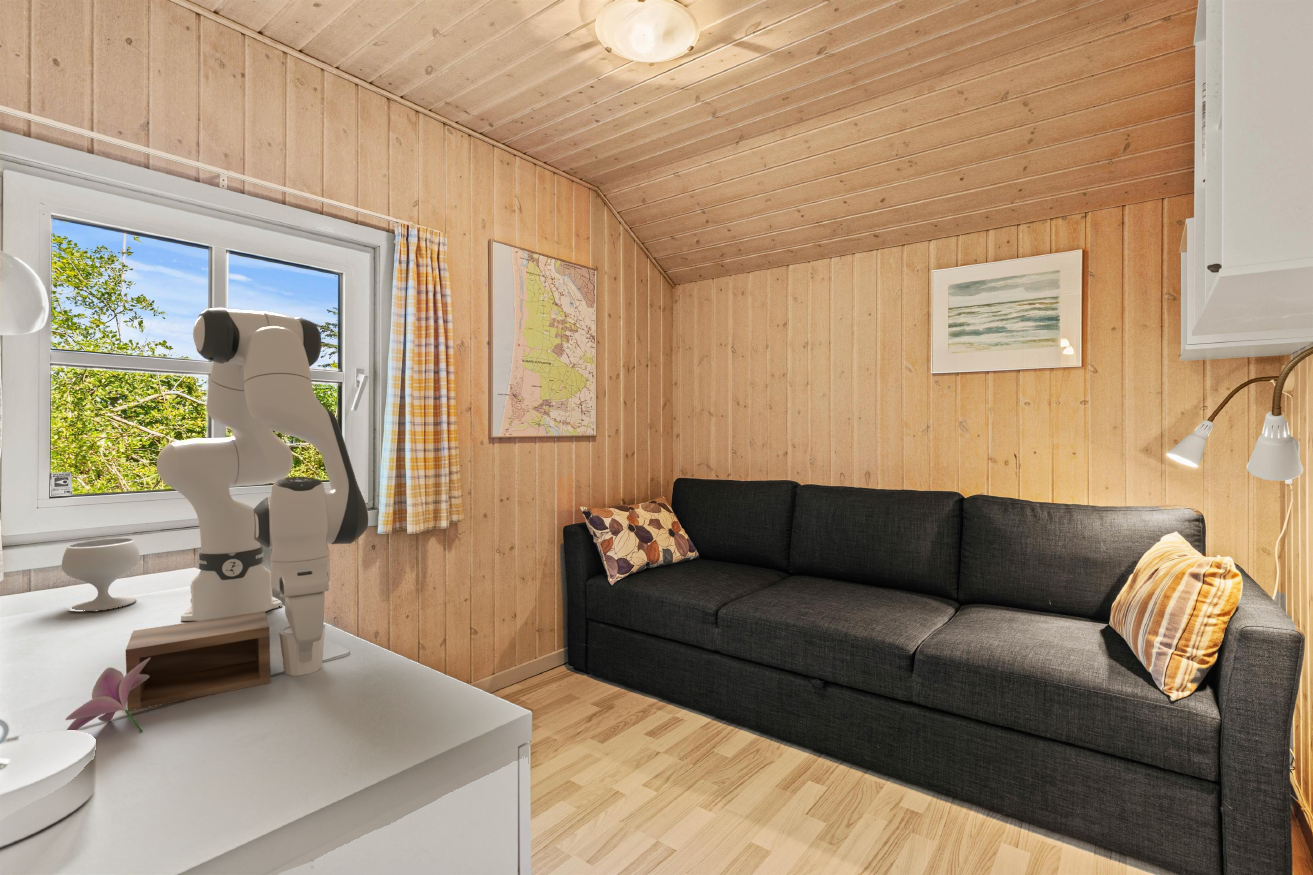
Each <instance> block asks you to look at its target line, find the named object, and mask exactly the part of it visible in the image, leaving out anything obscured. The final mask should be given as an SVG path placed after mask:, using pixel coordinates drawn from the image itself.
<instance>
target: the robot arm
mask: <svg viewBox="0 0 1313 875" xmlns="http://www.w3.org/2000/svg"><path fill="white" fill-rule="evenodd" d="M193 326H194V327H193V332H192V337H193V342H194V344H195V347H196V352H197V353H198V354H199V355H200V356H201V357H203V359H205V360H208V361H211V362H213V363H212V366H211V372H210V378H209V383H208V384H209V385H208V390H207V399H206V407H205V408H206V411H207V414H208V416H209V418H211V419H212V421H214V422H215V423H217V424H218V425H220V426H223V427H226V428H227V429H230V430H233V431H232V435H231V436H228V437H203V438H201V437H200V438H199V437H198V438H190V439H184V440H178V441H174V442H168V443H167V444H166V445H165V446H164V447H163V448H162V450H161V451H160V452H159V454H158V456H157V459H156V469H157V470H156V471H157V473H158V475H159V478H160V479H161V481H162V482H163V483H164V484H165V485H166V486H167V487H169V488H171V489H173V490H175V491H177V492H178V493H179V494H181V495H182V496H183V497H184V498H185V499H186V500H187V501H188V502H189V503H190V505H191V506H192V508H193V509H194V511H195V513H196V516H197V519H198V526H199V533H200V534H199V535H200V549H201V550H200V552H199V554H198V561H197V562H198V569H199V570H200V571H199V573H198V574H197V575H196V576H195V577H194V578H193V579H192V580H191V584H190V586H189V587H190V594H191V598H190V604H191V606H190V607H189V608H188V609H187V610H186V611H184V612H183V613H182V614H181V616H180V621H185V622H186V621H187V622H188V621H189V622H196V621H203V620H209V619H216V618H223V617H230V616H236V615H243V614H250V613H257V612H263V611H265V613H266V612H267V611H270V610H273V609H277V608H280V607H282V606H283V602H282V601H281V600H280V599H279V598H276V597H275V596H273V590H277V591H278V592H279V597H280V598H281V599H282V598H283V599H284V611H285V612H284V614H285V617H286V619H287V621H288V622H287V623H288V625H289V626H290V628H291V630H292V633H293V635H294V638H295V640H296V643H297V644H298V645H299V660H300V662H301V663H304V662H309V661H311V660H312V646H313V642H316V641H319V640H320V639H321V637H322V633H323V624H324V620H325V608H326V592H329V591H330V590H329V589H330V582H331V561H330V560H331V556H330V554H331V552H330V549H329V545H350V544H351V545H352V544H353V543H354V542H356V541H357V540H358V539H359V538H361V537H362V536H363V534H364V533H365V532H366V530H368V527H369V510H368V507H367V504H366V501H365V499H364V496H363V495H362V491H361V489H360V487H359V484H358V481H357V479H356V474H355V472H354V469H353V465H352V462H351V459H350V456H349V455H350V454H349V452H348V448H347V445H346V442H345V439H344V436H343V433H342V429H341V428H340V425H339V423H338V419H337V418H336V416H335V414H334V413H333V411H332V410H331V409H328V408H326V407H325V406H323V405H322V403H321V402H320V401H319V399H318V398H317V396H316V394H315V392H314V388H313V382H312V374H311V368H310V367H312V366H313V365H314V364H315V363H317V361H318V360H319V358H320V355H321V350H322V344H323V343H322V336H321V331H320V329H319V328H318V326H317V324H316V323H314V322H313V321H311V320H308V319H306V318H302V317H299V316H297V317H292V316H289V315H284V314H279V313H275V312H268V311H254V310H242V309H241V310H240V309H227V308H226V307H214V308H213V307H212V308H206V309H205V310H203V311H201V313H200V314H199V315H198V316H197V319H196V322H195V324H194V325H193ZM274 432H276V433H279V434H283V435H286V436H291V437H293V438H296V439H299V440H302V441H304V442H307V443H308V444H310V445H311V446H313V447H314V448H316V449H317V451H318V452H319V453H320V455H321V458H322V462H323V464H324V469H325V472H326V474H327V479H328V482H329V485H330V489H331V490H328V491H326V490H325V485H324V483H323V481H322V480H321V479H317V478H316V477H307V476H291V477H288V475H289V474H290V472H291V470H292V468H293V465H294V457H293V452H292V450H291V448H290V446H289V445H288V444H287V442H285V441H284V440H283V439H281V438H280V437H279V436H277V435H276V434H275V433H274ZM270 483H273V484H272V487H271V494H270V496H266V497H265V498H263V500H261V501H260V502H259V503H258V504H257V505H256V506H255V507H252V506H250V505H248V504H245V503H242V502H240V501H237V500H234V499H233V497H232V495H231V492H230V488H235V487H248V486H249V487H250V486H260V485H261V486H263V485H266V484H267V485H268V484H270ZM261 545H262V546H261ZM263 546H264V547H266V548H267V549H271V550H272V551H271V554H270V557H269V558H270V559H269V560H270V570H269V569H268V568H266V567H265V566H264V564H263V562H264V555H265V554H264V551H263ZM279 606H280V607H279ZM324 625H325V624H324Z"/></svg>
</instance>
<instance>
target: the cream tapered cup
mask: <svg viewBox="0 0 1313 875" xmlns="http://www.w3.org/2000/svg"><path fill="white" fill-rule="evenodd" d="M325 630H326V625H325V624H323V633H322V637H321V639H320V640H319V641H316V642H313V646H312V660H311V661H309V662H304V663H301V662H300V660H299V645H298V644H297V643H296V640H295V638H294V635H293V633H292V630H291V628H290V625H289V626H286V627H284V628H282V629H281V630H279V632H278V635H279V636H278V637H279V643H280V649H281V657H282V665H283V672H284V674H285V675H286V676H292V677H293V676H303V675H308V674H312V673H315V672H317V671H319V670H321V669H322V667H323V658H324V657H323V656H324V645H325V642H324V641H325Z"/></svg>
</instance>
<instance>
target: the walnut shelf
mask: <svg viewBox="0 0 1313 875" xmlns="http://www.w3.org/2000/svg"><path fill="white" fill-rule="evenodd" d="M268 621H269V620H268V617H267V614H266V612H265V611H263V612H257V613H250V614H243V615H236V616H230V617H223V618H216V619H209V620H203V621H189V622H183V623H177V624H176V623H175V624H170V625H163V626H157V627H156V626H155V627H151V628H149V627H148V628H143V629H136V630H135V629H134V630H133V631H132V633H131V636H130V638H129V641H128V643H127V646H126V649H125V667H126V668H125V670H126V672H125V676H126V675H127V674H128V673H129V672H130V671H131V670H132V669H134V668H135V667H136V666H138V665H139V664H140V663H142V662H143V661H145V660H146V659H148V658H150V660H149V661H148V662H147V663H146V665H145V666H144V667H143V669H142V670H141V671H140V673H139V674H145V675H149V678H148V679H147V680H145V681H144V682H142V683H141V684H139V685H138V686H136V687H135V688H133V689H132V690H130V691H129V694H128V698H127V702H126V705H127V707H126V708H127V710H128V711H129V712H130V710H132V711H135V710H134V709H137V710H139V709H140V708H142V709H146V708H145V707H147V708H150V707H149V706H152V707H156V706H155V705H157V706H161V705H160V704H162V705H166V704H165V703H167V704H170V703H169V702H172V703H175V702H174V701H177V702H180V700H182V701H185V700H191V699H195V698H201V697H206V696H210V695H217V694H221V693H226V692H230V691H235V690H240V689H241V690H242V689H245V688H251V687H256V686H260V685H265V684H271V683H272V679H271V678H272V677H271V675H272V674H271V673H272V672H271V671H272V670H271V643H270V641H271V639H270V638H271V637H270V635H271V634H270V625H269V624H270V623H269V622H268ZM139 674H138V675H139ZM140 710H141V709H140Z"/></svg>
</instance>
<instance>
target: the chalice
mask: <svg viewBox="0 0 1313 875" xmlns="http://www.w3.org/2000/svg"><path fill="white" fill-rule="evenodd" d="M63 553H64V554H63V556H62V560H61V570H62V571H63V573H64V574H65V575H66V576H68V577H70V578H72V579H76V580H79V581H81V582H85V583H88V584H90V585H92V586H93V587H94V588H95V589H96V590H97V596H96V597H95V599H92V600H87V601H84V602H81V603H78V604H74V605H72V606H71V607H72V609H75V610H83V611H84V610H85V611H94V612H97V611H96V610H103V611H108V610H107V609H109V610H113V608H114V609H117V608H118V607H119V608H123V607H126V606H128V605H131V604H134V603H135V602H137V599H136V598H134V597H132V596H130V597H128V596H126V597H125V596H121V597H120V596H117V597H116V596H115V597H113V596H111V595H110V594H109V588H110V587H111V585H112V584H113V583H114V582H115V581H117V580H118V579H120V578H121V577H123V576H124V575H126V574H128V573H130V572H131V571H132V570H134V569H135V568H136V567H138V565H139V563H140V559H141V555H140V551H139V548H138V545H137V543H136V541H134V539H132V538H128V537H127V538H126V537H122V538H121V537H118V538H104V539H101V538H100V539H96V540H95V539H93V540H86V541H80V542H75V543H71V544H69V545H67V547H66V549H65V551H64V552H63ZM122 606H123V607H122Z"/></svg>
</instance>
